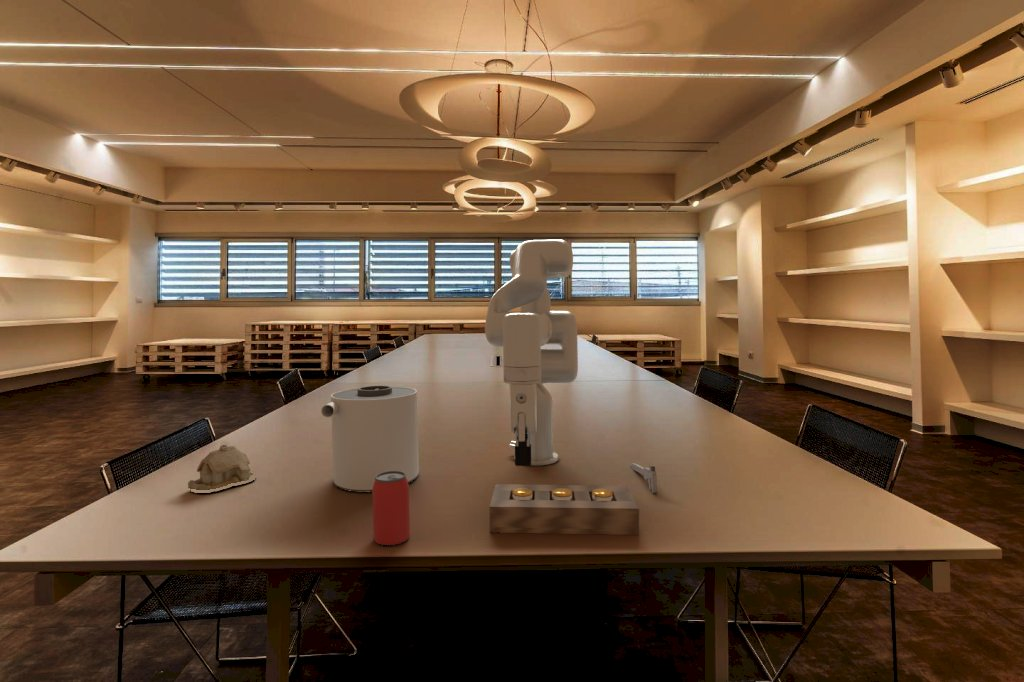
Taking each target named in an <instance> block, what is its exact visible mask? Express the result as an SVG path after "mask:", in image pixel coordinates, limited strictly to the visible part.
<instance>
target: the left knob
mask: <svg viewBox="0 0 1024 682" xmlns="http://www.w3.org/2000/svg"><path fill="white" fill-rule="evenodd" d="M513 500H532V490H531V489H528V488H517V489H514V490H513Z"/></svg>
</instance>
